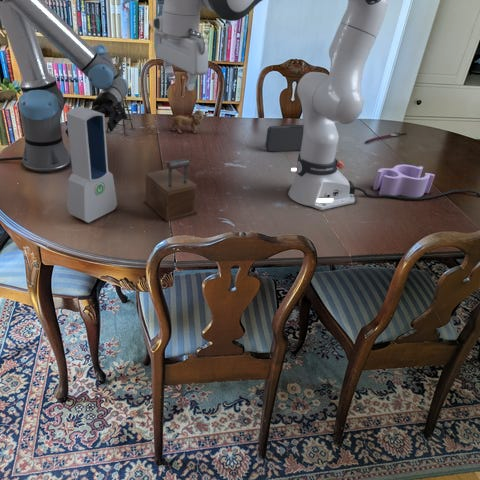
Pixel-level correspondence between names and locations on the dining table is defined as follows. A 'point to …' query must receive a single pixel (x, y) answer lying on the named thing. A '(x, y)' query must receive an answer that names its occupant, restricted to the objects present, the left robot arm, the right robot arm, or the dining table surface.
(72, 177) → the electronic device
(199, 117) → the lion figurine
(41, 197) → the dining table surface
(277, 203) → the dining table surface
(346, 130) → the dining table surface
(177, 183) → the lid
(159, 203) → the chest
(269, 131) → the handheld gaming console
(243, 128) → the dining table surface
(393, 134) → the sword
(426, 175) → the clip
